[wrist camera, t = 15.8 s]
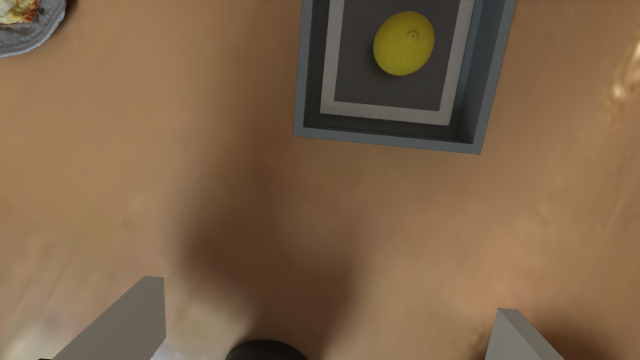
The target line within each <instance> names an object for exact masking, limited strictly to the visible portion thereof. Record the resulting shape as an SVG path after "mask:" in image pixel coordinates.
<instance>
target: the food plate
mask: <svg viewBox="0 0 640 360" xmlns="http://www.w3.org/2000/svg"><path fill="white" fill-rule="evenodd" d="M65 5H66V0H0V58H5V57H10V56H13V55H18V54H19V55H20V54H22V53H25V52H27V51H31V50H32V49H34V48H37V47H38V46H39V45H42V44H43V43H44V42H45V41H46V40H47V39H48V38H49V37H50V35H51V34H53V32H54V31H55V29H56V28H57V27H58V25H59V23H60V22H61V20H62V19H63V18H64V16H65V7H66V6H65Z"/></svg>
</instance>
